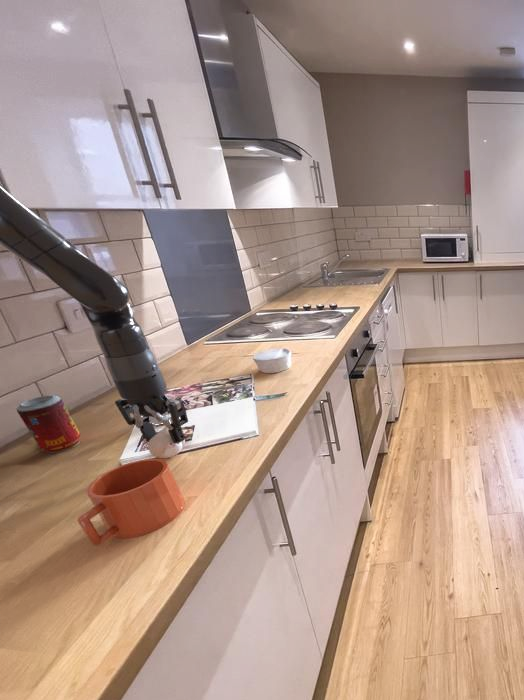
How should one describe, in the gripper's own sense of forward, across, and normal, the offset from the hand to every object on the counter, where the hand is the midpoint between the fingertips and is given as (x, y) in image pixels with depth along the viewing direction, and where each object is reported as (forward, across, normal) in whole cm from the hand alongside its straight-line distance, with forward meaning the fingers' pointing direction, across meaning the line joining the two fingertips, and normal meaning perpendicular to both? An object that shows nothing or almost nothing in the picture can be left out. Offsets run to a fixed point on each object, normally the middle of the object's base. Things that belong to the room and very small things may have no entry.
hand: (166, 440), depth 91 cm
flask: (+4, -16, +15) cm, 22 cm away
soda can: (+4, -30, +1) cm, 30 cm away
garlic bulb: (+4, 0, 0) cm, 4 cm away
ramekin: (+4, -9, +50) cm, 51 cm away
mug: (+4, +12, -20) cm, 24 cm away
